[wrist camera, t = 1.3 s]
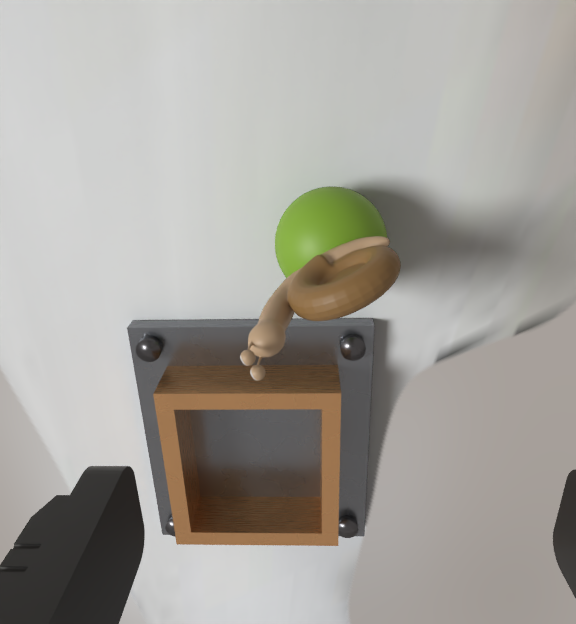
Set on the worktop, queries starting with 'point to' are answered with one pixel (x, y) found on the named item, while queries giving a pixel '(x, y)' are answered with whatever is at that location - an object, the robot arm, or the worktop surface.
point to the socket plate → (256, 430)
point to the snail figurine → (323, 266)
